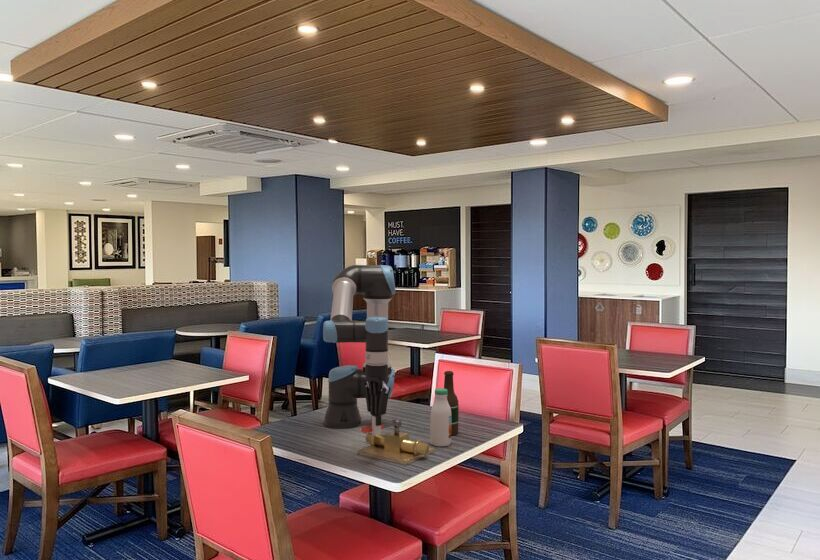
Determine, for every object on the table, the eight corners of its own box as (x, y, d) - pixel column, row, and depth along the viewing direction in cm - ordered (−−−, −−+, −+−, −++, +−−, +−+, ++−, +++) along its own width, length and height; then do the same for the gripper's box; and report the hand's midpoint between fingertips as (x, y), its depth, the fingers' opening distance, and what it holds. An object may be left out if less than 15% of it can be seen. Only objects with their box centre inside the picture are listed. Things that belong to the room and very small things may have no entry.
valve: (353, 453, 216) (353, 425, 216) (383, 441, 231) (384, 415, 231) (411, 466, 203) (411, 437, 202) (439, 452, 218) (440, 425, 217)
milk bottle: (444, 448, 223) (445, 392, 222) (426, 444, 227) (426, 389, 226) (455, 443, 229) (455, 388, 229) (436, 439, 233) (437, 386, 233)
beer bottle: (456, 436, 238) (457, 373, 237) (436, 435, 239) (437, 372, 239) (459, 431, 245) (460, 370, 245) (439, 429, 247) (440, 369, 246)
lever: (397, 423, 219) (397, 418, 219) (403, 425, 216) (403, 420, 216) (360, 431, 207) (360, 427, 207) (366, 433, 205) (366, 428, 205)
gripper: (356, 362, 210) (356, 432, 211) (378, 367, 200) (378, 440, 200) (375, 360, 215) (374, 429, 215) (397, 365, 205) (397, 437, 205)
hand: (376, 434), depth 208 cm, fingers closed
